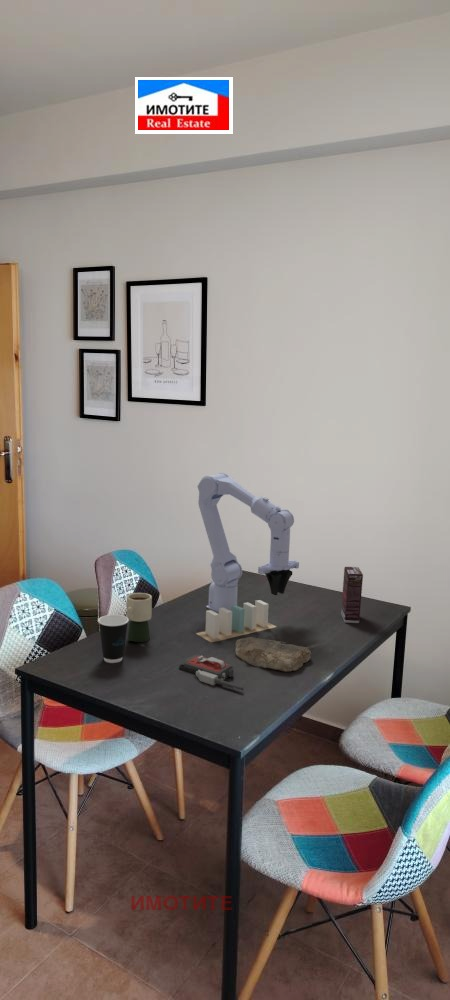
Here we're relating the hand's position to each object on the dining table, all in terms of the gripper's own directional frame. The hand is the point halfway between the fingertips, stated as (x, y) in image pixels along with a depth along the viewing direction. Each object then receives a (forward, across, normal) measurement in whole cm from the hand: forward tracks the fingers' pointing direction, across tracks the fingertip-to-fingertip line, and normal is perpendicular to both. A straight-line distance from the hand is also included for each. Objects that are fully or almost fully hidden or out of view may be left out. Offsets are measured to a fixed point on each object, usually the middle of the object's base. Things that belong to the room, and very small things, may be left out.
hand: (277, 593), depth 214 cm
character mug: (+10, -43, +9) cm, 45 cm away
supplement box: (+10, +23, -9) cm, 26 cm away
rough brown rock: (+10, -19, -20) cm, 30 cm away
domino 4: (+9, -6, 0) cm, 11 cm away
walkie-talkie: (+10, -38, -22) cm, 45 cm away
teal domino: (+9, -15, 0) cm, 17 cm away
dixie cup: (+10, -55, +1) cm, 56 cm away
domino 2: (+9, -20, 0) cm, 21 cm away
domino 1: (+9, -24, 0) cm, 26 cm away
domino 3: (+9, -10, 0) cm, 14 cm away
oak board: (+9, -15, 0) cm, 18 cm away
